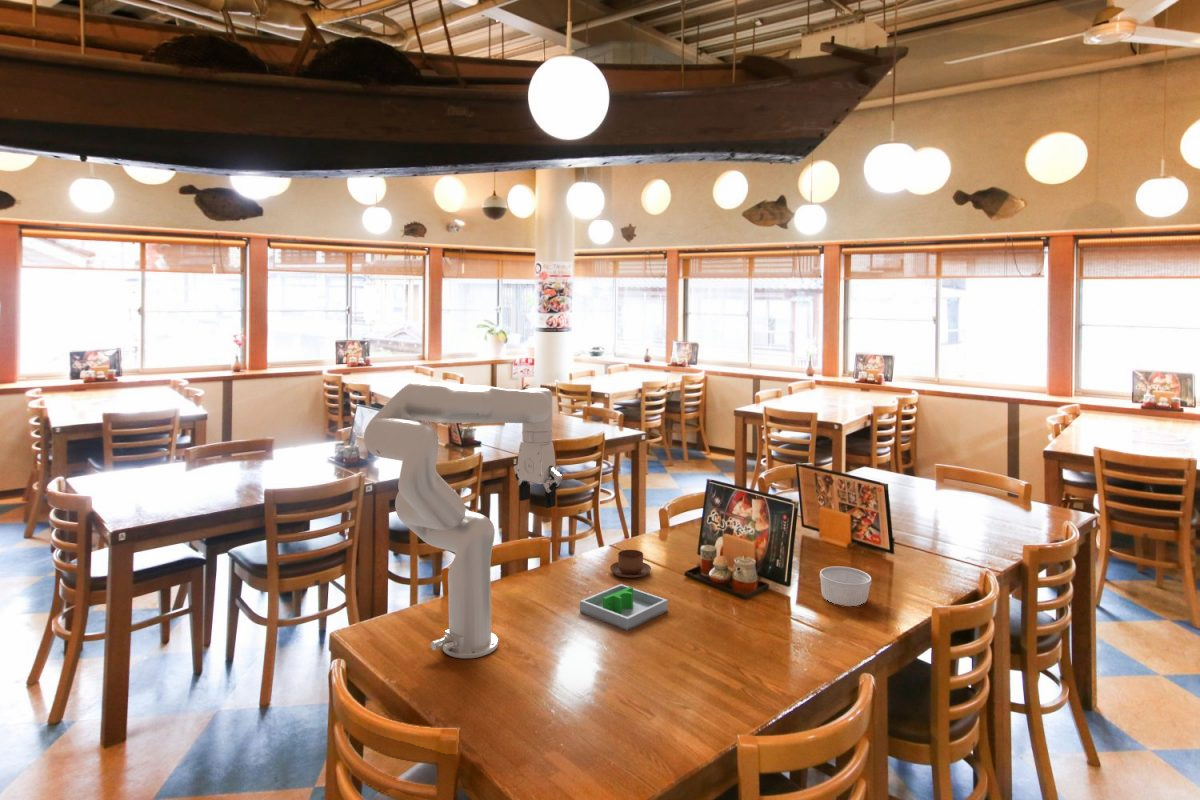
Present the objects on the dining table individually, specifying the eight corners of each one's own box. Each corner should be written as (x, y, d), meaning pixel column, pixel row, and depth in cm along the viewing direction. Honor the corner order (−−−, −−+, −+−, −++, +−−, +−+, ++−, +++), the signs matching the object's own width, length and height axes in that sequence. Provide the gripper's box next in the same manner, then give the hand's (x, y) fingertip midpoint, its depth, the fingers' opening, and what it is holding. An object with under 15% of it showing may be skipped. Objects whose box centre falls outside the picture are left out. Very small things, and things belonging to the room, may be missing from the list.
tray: (627, 630, 174) (627, 618, 174) (579, 612, 185) (580, 600, 185) (667, 611, 186) (667, 599, 186) (620, 594, 197) (620, 583, 196)
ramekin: (881, 605, 191) (882, 580, 190) (840, 612, 186) (842, 586, 185) (847, 587, 203) (848, 563, 202) (808, 594, 198) (809, 569, 197)
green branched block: (612, 617, 180) (612, 601, 180) (602, 613, 183) (602, 597, 182) (640, 605, 188) (640, 589, 187) (630, 601, 190) (630, 586, 190)
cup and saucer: (604, 569, 217) (605, 549, 216) (642, 565, 220) (642, 545, 219) (617, 583, 205) (617, 562, 205) (656, 579, 209) (657, 558, 208)
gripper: (503, 434, 185) (504, 499, 187) (549, 443, 173) (549, 512, 175) (526, 431, 190) (526, 494, 192) (571, 439, 179) (571, 507, 181)
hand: (537, 503), depth 184 cm, fingers open, 9 cm apart
